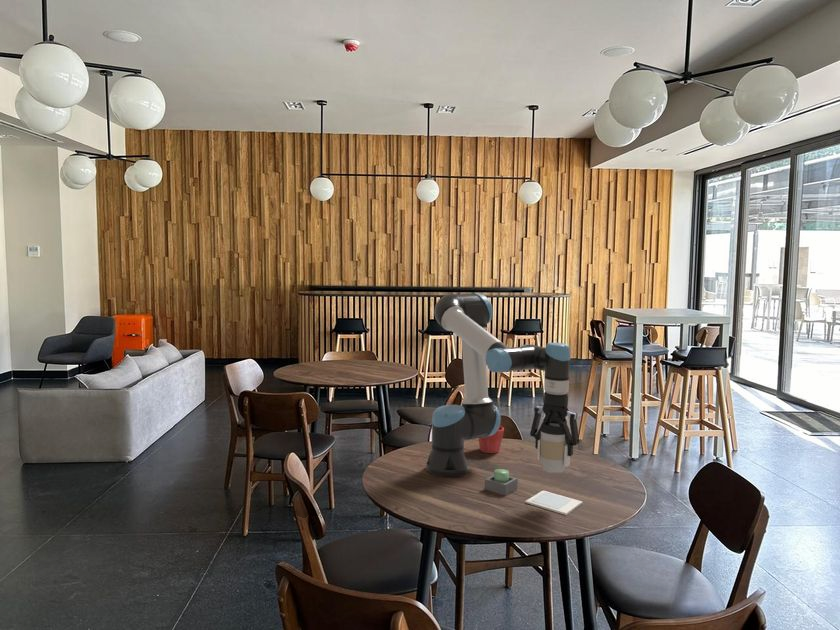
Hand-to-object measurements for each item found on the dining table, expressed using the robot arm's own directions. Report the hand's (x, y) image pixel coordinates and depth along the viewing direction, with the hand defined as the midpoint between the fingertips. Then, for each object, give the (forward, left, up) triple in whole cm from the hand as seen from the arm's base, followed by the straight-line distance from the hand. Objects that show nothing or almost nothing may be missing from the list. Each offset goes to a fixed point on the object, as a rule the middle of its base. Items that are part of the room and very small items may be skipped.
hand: (553, 462), depth 191 cm
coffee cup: (0, 0, -3) cm, 3 cm away
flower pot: (-43, +32, -14) cm, 55 cm away
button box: (-18, -1, -13) cm, 22 cm away
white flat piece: (+1, 0, -13) cm, 13 cm away
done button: (-18, -1, -11) cm, 21 cm away
